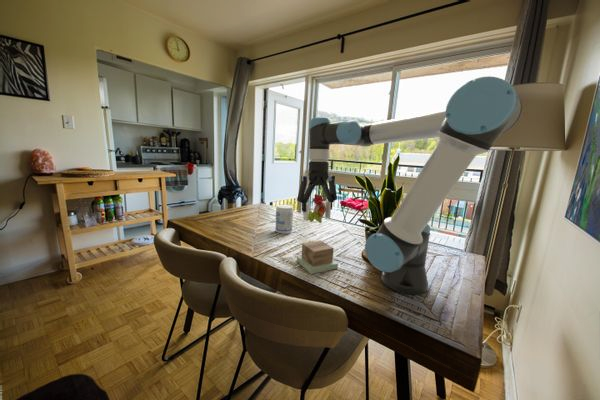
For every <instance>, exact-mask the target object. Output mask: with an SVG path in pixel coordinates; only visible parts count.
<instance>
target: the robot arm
mask: <svg viewBox="0 0 600 400" xmlns="http://www.w3.org/2000/svg"><path fill="white" fill-rule="evenodd" d="M522 113H523V103H522V99H521V98H520V96H519V95H518V92H517V90H516V87H515V86H514V85H513V84H511V83H510V82H509V81H506V80H505V79H503V78H500V77H496V76H482V77H481V76H480V77H477V78H474V79H471V80H468V81H467V82H465V83H464V84H462V85H461V86H459V87H458V88H457V89H456V90H455V91H454V92H453V93H452V94H451V96H450V98H449V99H448V101H447V103H446V107H445V109H443V110H438V111H432V112H427V113H421V114H416V115H410V116H405V117H400V118H394V119H388V120H383V121H378V122H374V123H367V124H360V123H359V122H358V121H356V120H348V119H346V120H343V121H342V120H341V121H336V122H331V119H330V118H329V117H323V116H321V117H320V116H319V117H313V118H311V120H310V121H309V122H310V123H309V148H308V151H309V153H308V160H309V162H308V175H301V176H300V185H299V190H298V193H297V194H298V195H297V197H296V198H297V199H296V201H297V202H298V203H301V212H303V220H304V221H306V222H308V221H309V220H308V214H309V211H310V210H309V207H310V204H309V203H308V201H309V199H310V197H311V195H312V193H313V191H314V189H315V188H316V187H317V186H320V187H321V188H322V190H323V193H324V195H325V197H326V198H325V199H326V200H325V213H324V216H325V219H331V210H333V203H334V202H335V201H337V200H338V196H337V188H336V182H335V181H336V176H335V175H332V174H330V175H329V167H330V162H329V160H330V147H331V146H332V145H343V146H344V145H346V146H357V147H358V146H359V147H371V146H373V145H382V144H388V143H390V144H391V143H399V142H407V141H417V140H425V139H426V140H427V139H436V138H438V139H439V141H438V142H437V144H436V146H435V147H434V149H433V150H432V153H431V154H430V156H429V157H428V159H427V160H426V162H425V163H424V165H423V167H422V169H421V170H420V172H419V174H418V175H417V177H416V178H415V180H414V182H413V183H412V185H411V186H410V188H409V190H408V191H407V193H406V195H405V196H404V198H403V199H402V201H401V203H400V204H399V206H398V207H397V209H396V211H395V212H394V214H393V216H388V217H386V218H384V220H383V222H382V223H381V225H380V227H379V228H378V230H377V232H376V233H372V234H371V235H369V237H368V238H367V239H366V241H365V244H364V251H365V254H366V258H367V260H368V261H369V262H370V264H371V265H372V266H373V267H374V268H375V269H377V270H379V271H381V272H382V273H381V281H382V284H384V285H385V286H386V287H388V288H390V289H391V290H393V291H396V292H397V293H398V292H399V293H401V294H406V295H423V294H424V293H427V291H428V288H429V280H428V276H427V270H426V261H427V254H428V247H429V240H430V236H431V226H430V225H429V223H430V221H431V219H432V218H433V217H434V216H435V214H436V213H437V212H438V211H439V210H438V209H440V207H441V206H442V204H443V203H444V201H445V200H446V198H447V197H448V195H449V194H450V193H451V192H452V190H453V189H454V187H455V185H456V184H457V183H458V181H459V180H460V178H461V177H462V176H463V175H464V173H465V172H466V170H468V168H469V166H470V165H471V164H472V162H473V161H474V159H475V158H476V156H479V155H481V154H484V153H488V152H489V151H490V149H491V148H492V147H493V146H494V144H495V143H496V141H497V140H498V139H499V137H500V136H502V135H504V134H506V133H507V132H509V131H510V130H512V129H513V128H514V127H515V126H516V125H517V123H518V122H519V121H520V118H521V116H522ZM330 145H331V146H330ZM308 181H309V183H308ZM307 183H308V184H307Z"/></svg>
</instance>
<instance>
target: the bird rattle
mask: <svg viewBox="0 0 600 400" xmlns="http://www.w3.org/2000/svg"><path fill="white" fill-rule="evenodd" d="M325 201H326V198H325V197H324V198H323V195H322V194H317V193H315V194H314V198H312V202H313V203H314V204H315V206H314V207H313V211H312V210H309V214H308V221H309V222H310V223H312V222H315V221H316V222H318V223H319V224H322V222H323V221H322V219H323V217H324V216H325V207H326V203H324V202H325ZM314 220H315V221H314Z"/></svg>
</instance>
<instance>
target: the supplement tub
mask: <svg viewBox="0 0 600 400" xmlns="http://www.w3.org/2000/svg"><path fill="white" fill-rule="evenodd" d="M275 209H276V212H275V232H276V233H278V234H285V235H288V234H291V233H292V232H293V226H294V225H293V224H294V206H293V205H290V204H278V205H276V208H275Z"/></svg>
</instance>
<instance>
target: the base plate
mask: <svg viewBox="0 0 600 400" xmlns="http://www.w3.org/2000/svg"><path fill="white" fill-rule="evenodd" d="M296 262H298V263H299V265H301V266H302V267H303V268H304V269H305V270H306V271H307V272H308V274H310V275H313V274H316V273H322V272H326V271H327V272H328V271H331V270H336V269H338V266H339V263H338V262H337V261H335V260H334V259H333V262H331V263H327V264H323V265H318V266H314V267H313V266H312V265H311V264H309V263H308V262H307V261H306V260H304V259H303V258H302V255H297V256H296Z"/></svg>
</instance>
